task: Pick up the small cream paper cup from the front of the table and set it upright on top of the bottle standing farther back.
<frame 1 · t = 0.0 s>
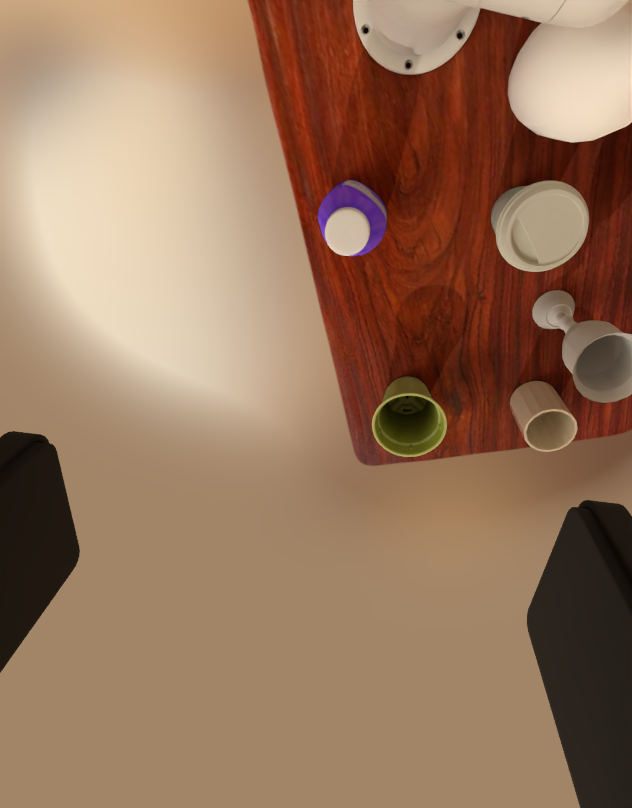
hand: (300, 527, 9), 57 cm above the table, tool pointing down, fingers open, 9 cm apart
plant pot: (406, 394, 71), on the table
coffee cup: (516, 213, 58), on the table
bottle: (356, 208, 59), on the table
paper cup: (533, 400, 69), on the table
bottle 2: (551, 80, 51), on the table
chalice: (552, 309, 62), on the table
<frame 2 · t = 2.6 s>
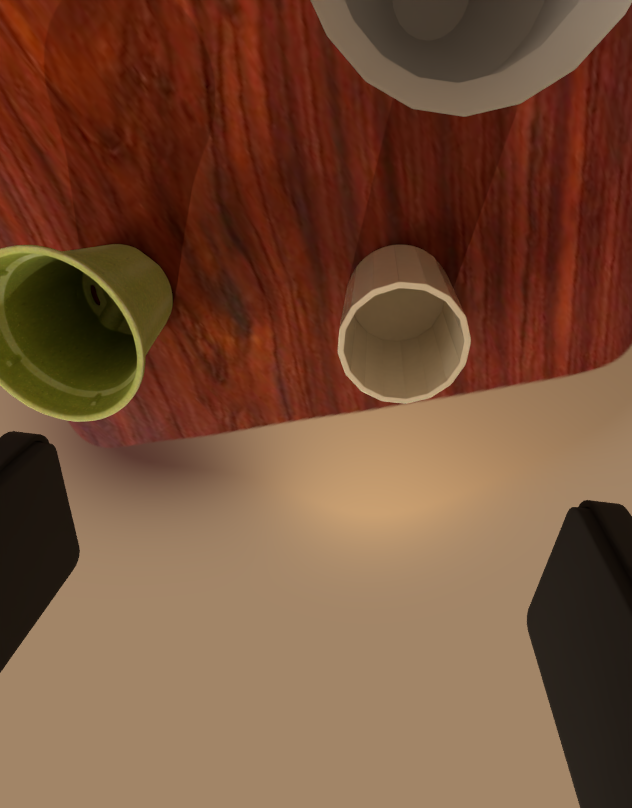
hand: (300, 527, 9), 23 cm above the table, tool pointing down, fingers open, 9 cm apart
plant pot: (128, 290, 32), on the table
paper cup: (397, 295, 30), on the table
chalice: (412, 35, 24), on the table
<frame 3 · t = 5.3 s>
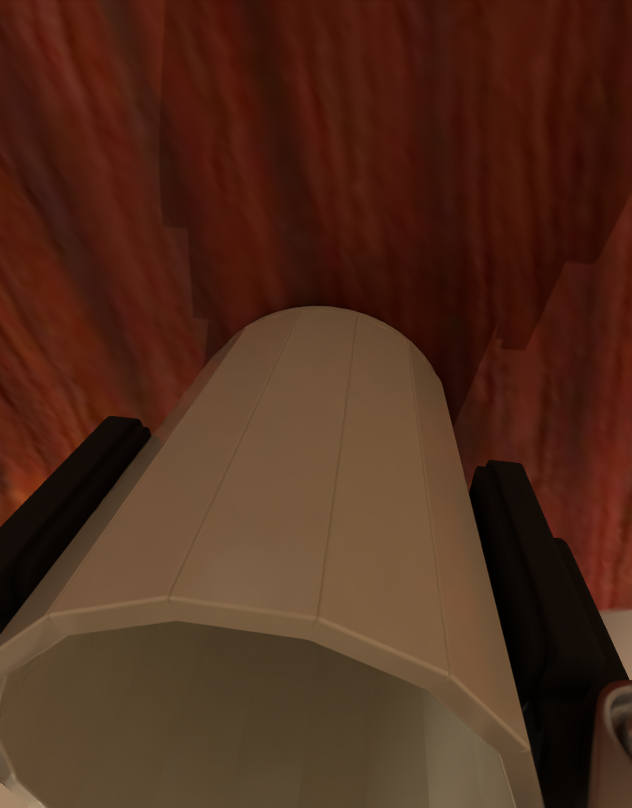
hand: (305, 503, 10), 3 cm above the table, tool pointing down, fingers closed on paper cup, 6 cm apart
paper cup: (321, 424, 12), on the table, touching gripper
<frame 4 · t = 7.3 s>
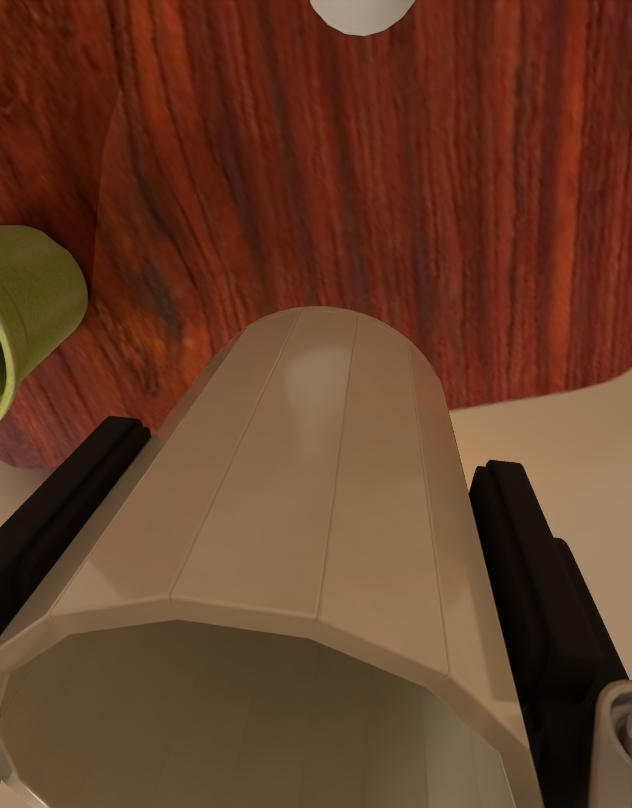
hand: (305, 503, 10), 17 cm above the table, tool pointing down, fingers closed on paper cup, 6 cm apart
plant pot: (37, 282, 27), on the table
paper cup: (321, 424, 12), point 14 cm above the table, touching gripper
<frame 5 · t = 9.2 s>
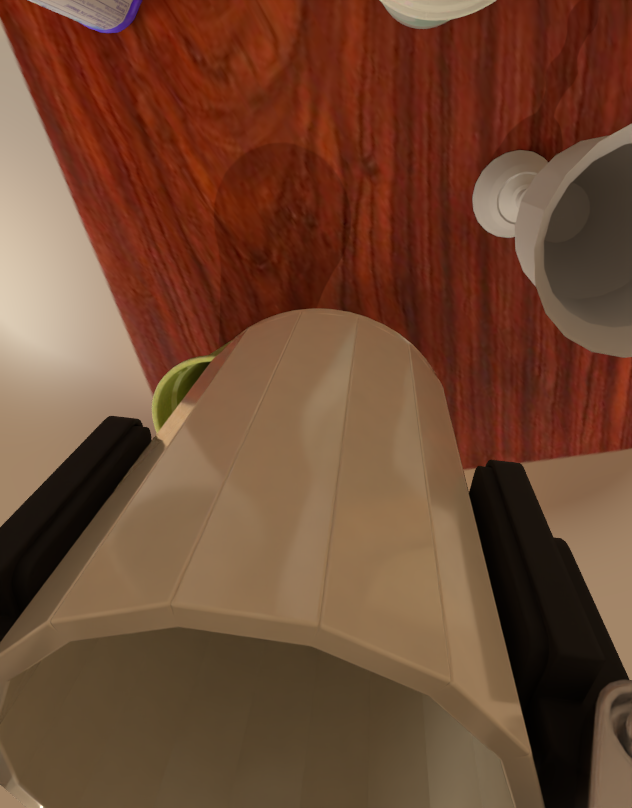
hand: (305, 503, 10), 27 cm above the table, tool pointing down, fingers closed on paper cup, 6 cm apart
plant pot: (255, 369, 39), on the table
paper cup: (322, 427, 12), point 24 cm above the table, touching gripper
chalice: (513, 195, 31), on the table
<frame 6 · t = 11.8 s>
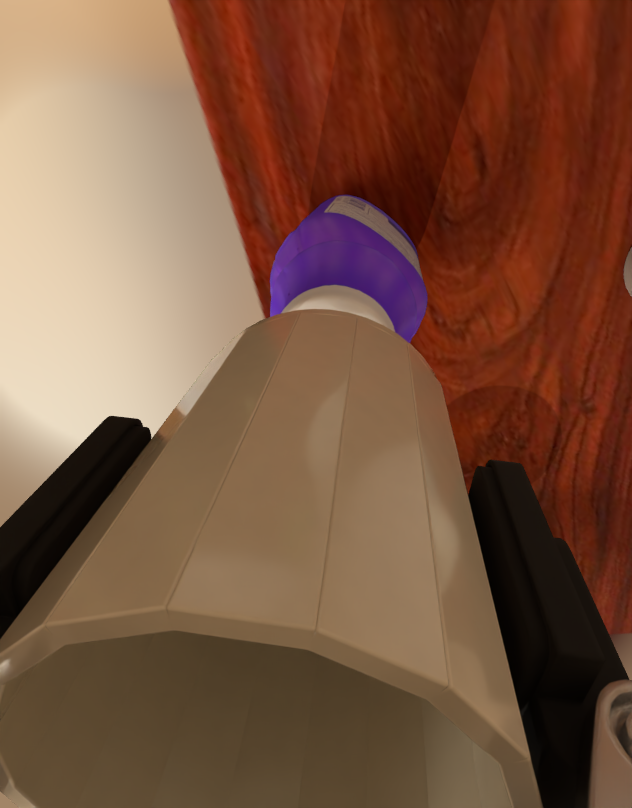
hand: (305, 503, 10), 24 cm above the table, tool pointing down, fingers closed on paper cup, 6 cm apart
bottle: (357, 249, 31), on the table
paper cup: (321, 427, 12), point 21 cm above the table, touching gripper
when the fingers open (20 cm above the table, at t = 13.4 s): paper cup stays where it is, resting on bottle.
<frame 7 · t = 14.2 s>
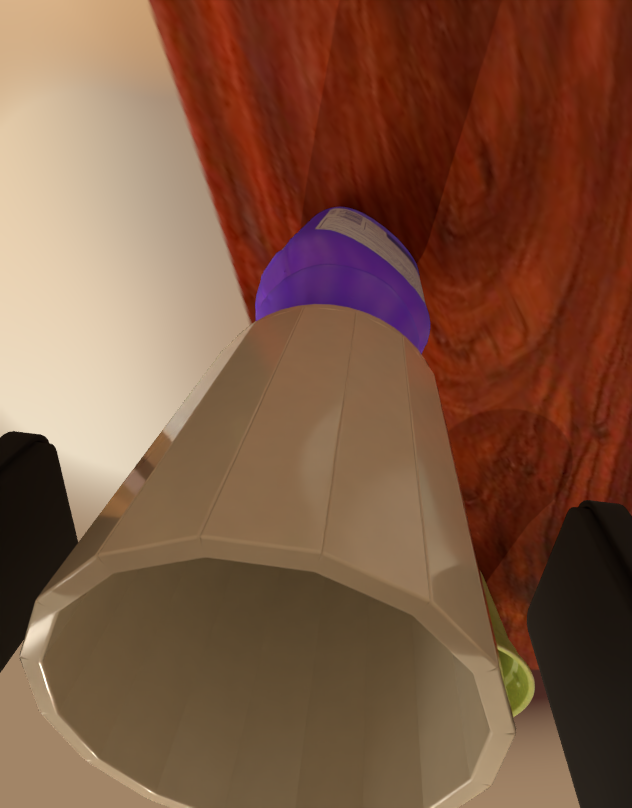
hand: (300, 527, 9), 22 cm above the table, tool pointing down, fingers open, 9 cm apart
plant pot: (443, 579, 40), on the table
bottle: (354, 264, 29), on the table, touching paper cup
paper cup: (322, 415, 13), point 17 cm above the table, touching bottle
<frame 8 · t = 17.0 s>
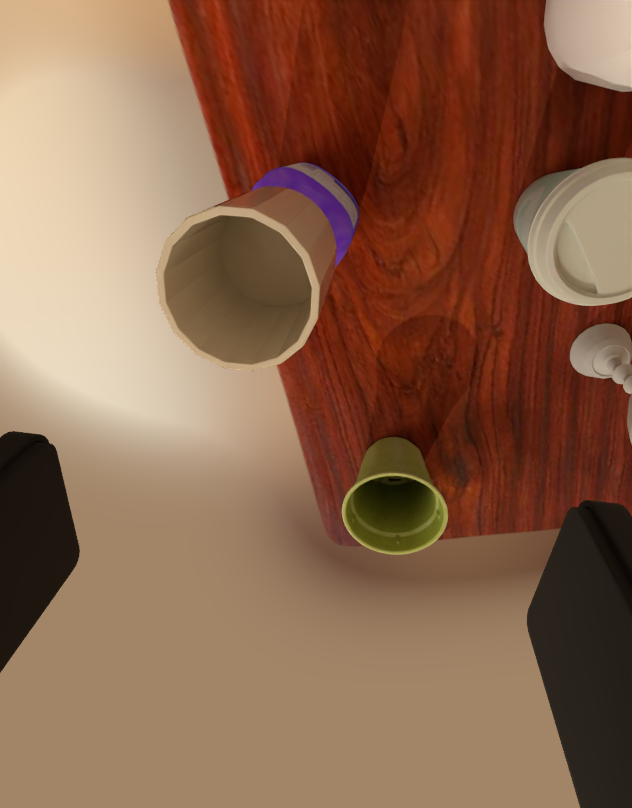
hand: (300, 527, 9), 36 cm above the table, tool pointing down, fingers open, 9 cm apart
plant pot: (392, 459, 52), on the table
coffee cup: (551, 212, 39), on the table
bottle: (316, 206, 41), on the table, touching paper cup
paper cup: (276, 251, 25), point 17 cm above the table, touching bottle
bottle 2: (613, 3, 33), on the table
chalice: (599, 350, 44), on the table
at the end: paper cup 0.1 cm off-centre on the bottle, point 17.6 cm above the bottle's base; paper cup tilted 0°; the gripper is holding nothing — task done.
